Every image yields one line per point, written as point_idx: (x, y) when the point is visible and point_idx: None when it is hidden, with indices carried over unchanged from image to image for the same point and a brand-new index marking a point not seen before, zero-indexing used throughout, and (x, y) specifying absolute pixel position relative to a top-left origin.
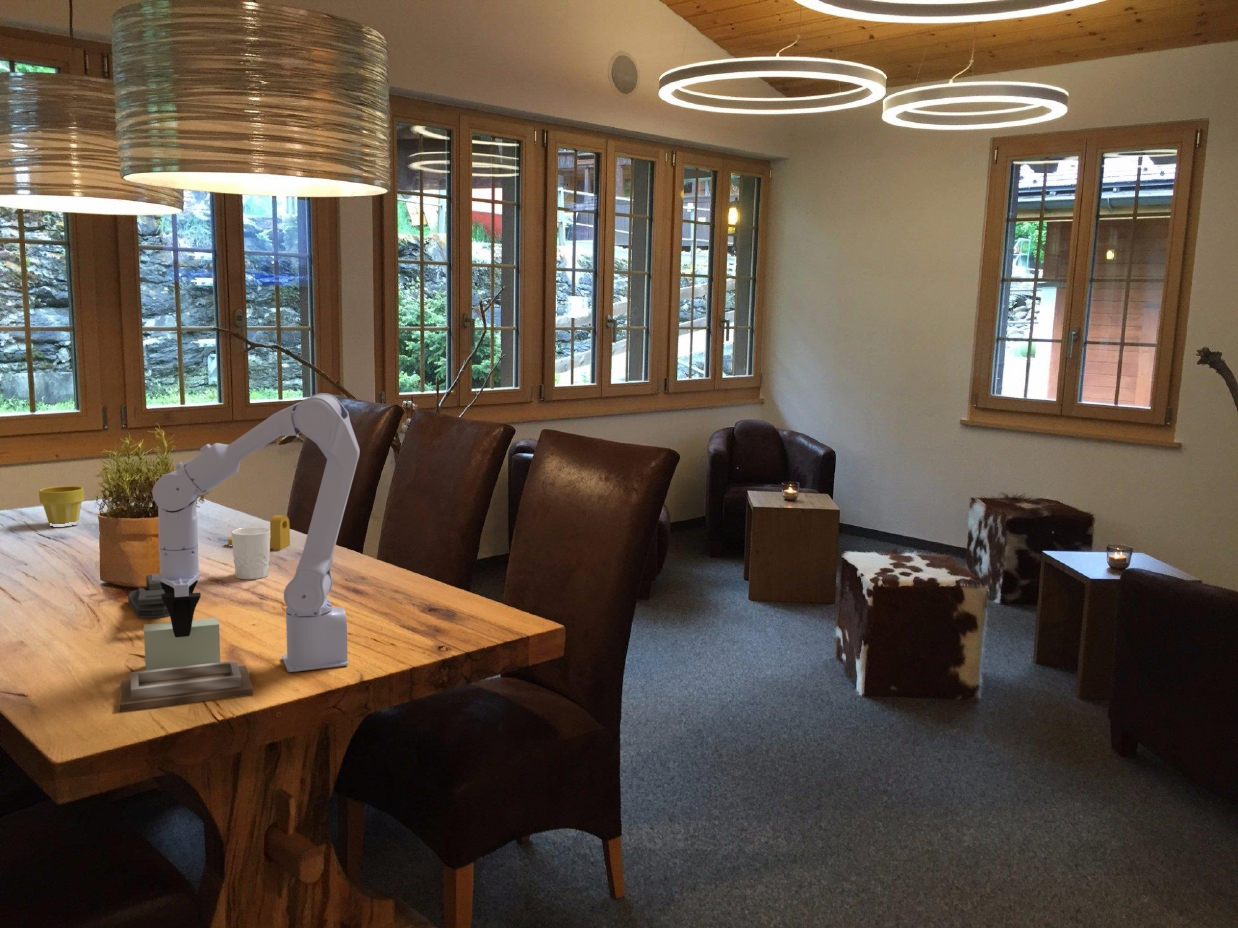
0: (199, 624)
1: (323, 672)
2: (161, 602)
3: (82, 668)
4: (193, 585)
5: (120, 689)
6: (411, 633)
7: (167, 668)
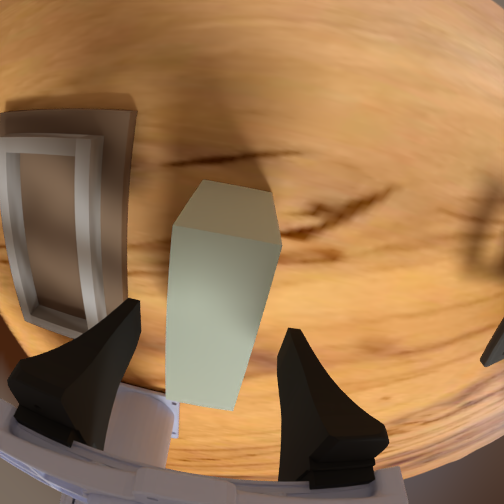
0: (183, 374)
1: None
2: (501, 321)
3: (346, 53)
4: (281, 474)
5: (65, 110)
6: (215, 474)
7: (85, 226)
